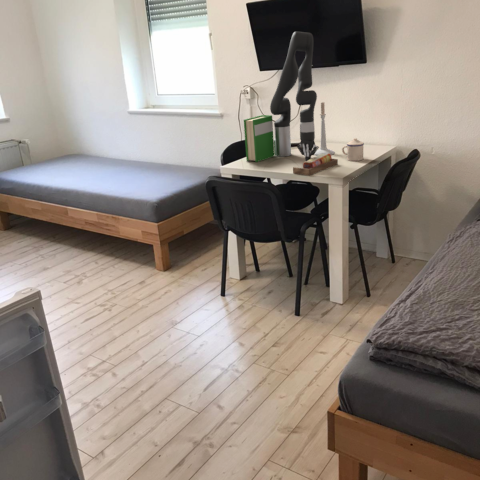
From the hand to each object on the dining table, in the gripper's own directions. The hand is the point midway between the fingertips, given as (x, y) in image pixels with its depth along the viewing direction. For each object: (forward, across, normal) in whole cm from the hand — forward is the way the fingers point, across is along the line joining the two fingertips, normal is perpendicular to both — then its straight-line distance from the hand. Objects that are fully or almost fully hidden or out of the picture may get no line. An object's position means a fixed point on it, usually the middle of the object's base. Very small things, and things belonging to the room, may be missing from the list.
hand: (308, 163), depth 275 cm
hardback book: (+3, -40, +8) cm, 41 cm away
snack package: (+3, +5, +1) cm, 6 cm away
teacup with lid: (+3, +11, +27) cm, 29 cm away
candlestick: (+3, -13, +34) cm, 37 cm away
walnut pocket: (+2, +5, 0) cm, 5 cm away
